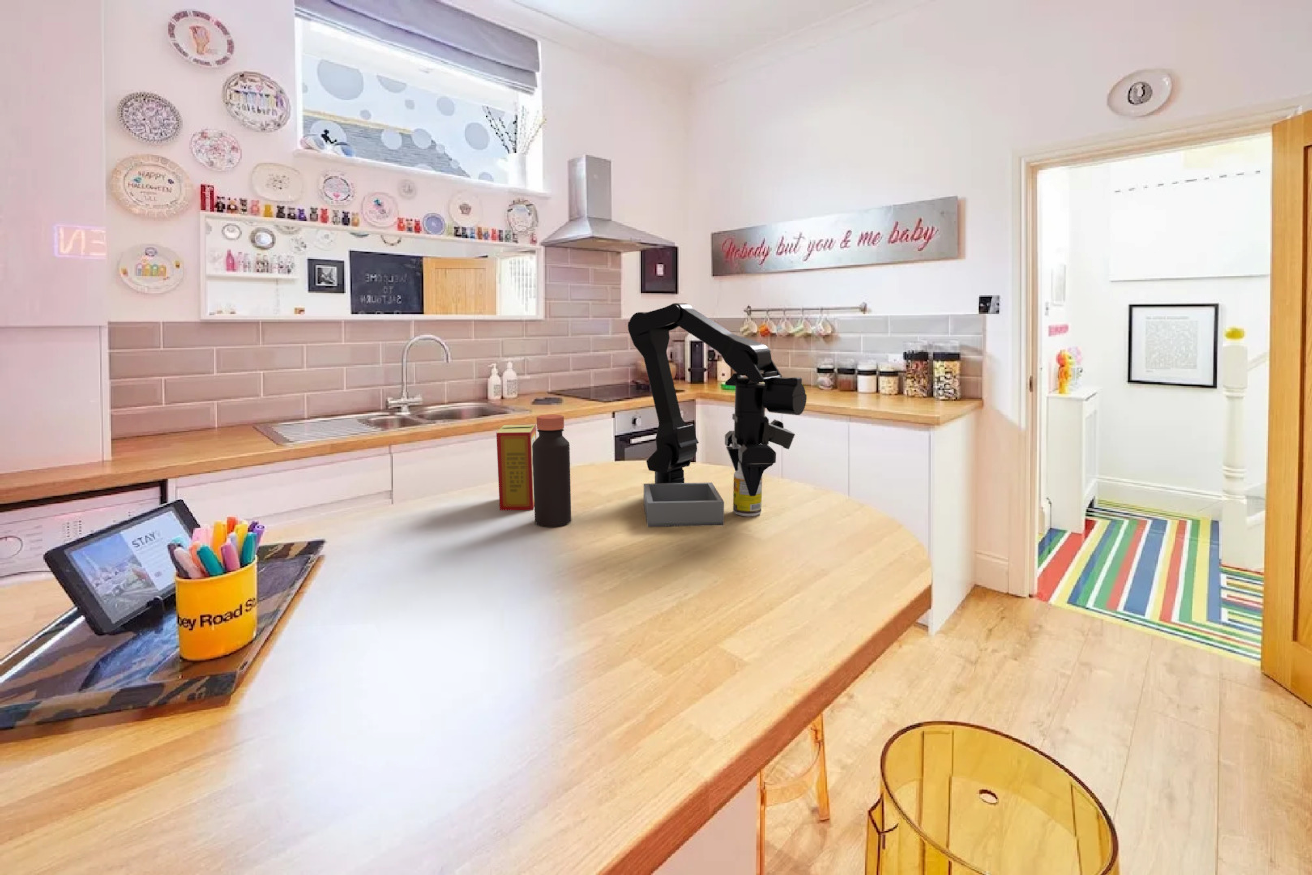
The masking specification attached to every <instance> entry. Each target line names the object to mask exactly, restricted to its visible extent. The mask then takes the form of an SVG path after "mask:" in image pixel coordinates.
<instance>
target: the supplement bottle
mask: <svg viewBox="0 0 1312 875" xmlns="http://www.w3.org/2000/svg"><path fill="white" fill-rule="evenodd" d="M763 479H764V478H763V474H762V477H761V480H760V483H759V486H758V490H757V493H756V496H750V495H749V493H748V490H747V487H746V484H745V480H744V477H743V474H742V471H741V468H740V465H739V462H738V471H735V472H734V473H733V500H732V501H733V502H732V503H733V504H732V505H733V506H732V510H733V514H734V513H735V515H737V516H741V517H756V516H759V515H760V514H761V513H762V507H763V505H762V504H763V503H762V502H763Z"/></svg>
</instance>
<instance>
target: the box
mask: <svg viewBox="0 0 1312 875" xmlns="http://www.w3.org/2000/svg"><path fill="white" fill-rule="evenodd" d="M713 483H714V482H684V483H655V482H654V483H643V508H644V514H645V519H646V526H647V527H648V528H659V527H660V528H661V527H664V528H665V527H666V528H667V527H668V528H669V527H701V526H703V527H704V526H705V527H708V526H713V527H714V526H724V525H725V524H724V520H725V501H724V499H723V498H722V496H721V495H720V494H721V493H719V491H718V489H717V488H716V486H715V485H714V484H713Z"/></svg>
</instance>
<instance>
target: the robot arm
mask: <svg viewBox="0 0 1312 875" xmlns="http://www.w3.org/2000/svg"><path fill="white" fill-rule="evenodd" d="M679 327H680V328H681V329H683V330H684V331H685V332H687V333H688V334H690V335H692V336H694V337H695V338H696V339H698V340H700V341H701V342H702V343H704V344H706V345H707V346H709V347H710V348H711V349H713V350H714V351H716V352H717V353H718V354H719V355H720V356H721V358H722V360H723V361H724V363H725V364H726V365H727V366H729V368H731V369H732V371H734V373H733V374H732V375H731V376H730V377H729V378H728V379H727V380H726V381H724V385H725V386H730V387H731V386H732V387H735V389H734V413H732V418H731V419H732V420H733V421H734V423H733V424H734V428H733V429H734V430H729V431H728V432H726V433H725V434H724V445H725V446H726V448H725V449H726V451H727V453H728V456H729V458H730V460H731V464H732V466H733V468H734V471H735V472H736V471H738V462H739V465H740V468H741V471H742V474H743V477H744V480H745V484H746V487H747V490H748V493H749V495H750V496H756V493H757V490H758V486H759V483H760V480H761V477H762V475H763V474H764V471H765V470H767V469H768V468H769V467H772V466H773V465H774V464H775V463H777V461H776V460H777V452H776V451H775V450H774V449H773V448H772V447H771V446H769V445H770V444H769V443H773V444H776V445H778V446H781V447H782V448H783V449H786V450H789V449H790V447H791V446H792V444H793V440H794V438H795V436H796V434H795V432H792V431H791V430H789V429H787V428H784V427H785V426H784V422H782V421H780V420H778V419H773V420H772V421H770V419H769V418H768V417H767V415H766V410H767V412H769V413H775V414H783V415H793V416H801V415H802V414H803V412H804V411H805V408H806V406H807V400H808V399H807V394H806V390H805V389H806V388H805V386H804V385H803V384H802V382H803V378H802V377H800V376H793V377H787V376H786V377H783V375H782V373H781V372H780V371H779V369H778V367H777V365H776V364H775V362H774V361H773V359H772V354H771V350H770V348H769V347H768V346H767V345H765V344H763V343H761V342H758V341H755V340H754V339H751V338H747V337H743V336H739V335H738V334H734V333H732V332H731V331H729V330H728V329H726V328H725V327H724V326H722V325H720V324H718V323H717V322H715V321H714V320H712V319H710V318H709V317H707V316H706V315H705V314H703V313H701V312H699V311H698V310H697V309H695V308H693V307H692V306H691V305H690V304H689V303H684V302H682V303H681V302H680V303H679V302H675V303H672V304H670V305H667V306H665V307H662V308H658V309H654V310H651V311H640V312H639V311H638V312H635V313H634V314H632V316H631V317H630V319H629V321H628V322H627V330H628V334H629V336H630V339H631V341H632V344H633V346H634V347H635V348H636V350H637V351H638V352H639V353H640V355H641V356H642V358H643V362H644V364H645V365H644V366H645V369H646V374H647V378H648V383H649V385H650V386H649V387H650V391H651V395H652V400H653V403H654V408H655V412H656V416H657V421H658V427H657V432H656V436H655V447H656V449H655V451H654V452H653V453H652V454H651V455H650V456H648V458H647V459H646V462H645V463H646V466H647V468H648V471H650V472H654V483H685V470H684V469H683V468H686V467H690V465H691V461H692V460H693V458H694V457H695V456H696V453H698V452H697V451H698V444H699V443H700V442H699V440H698V438H697V435H696V428H695V426H694V424H690V425H688V424H687V423H686V422H685V421H684V420H683V418H682V413H681V409H680V404H679V401H678V397H677V396H678V395H677V392H676V388H675V383H674V380H673V375H672V371H671V366H670V362H669V357H668V354H667V353H668V352H667V351H668V347H669V342H670V332H671V331H674V330H676V329H678V328H679Z"/></svg>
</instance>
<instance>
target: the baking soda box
mask: <svg viewBox="0 0 1312 875" xmlns="http://www.w3.org/2000/svg"><path fill="white" fill-rule="evenodd" d="M495 435H496V437H495V438H496V456H497V457H496V458H497V459H496V460H497V479H498V500H499V503H498V504H499V511H534V482H533V453H532V445H533V442H534V441H535V440H536V439H537V423H536V424H503V425H502V426H501V428H499V430H497V432H496V434H495Z"/></svg>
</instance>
